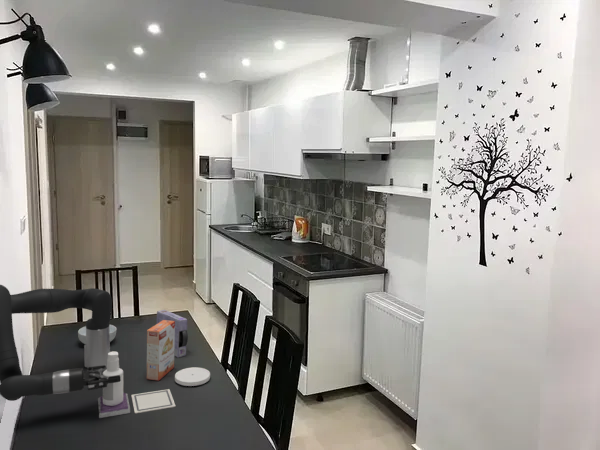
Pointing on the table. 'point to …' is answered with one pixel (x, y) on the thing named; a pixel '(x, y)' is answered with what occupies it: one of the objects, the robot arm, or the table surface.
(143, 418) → the table surface
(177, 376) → the plastic lid
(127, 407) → the ink pad
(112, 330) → the cereal bowl
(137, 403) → the marked sheet
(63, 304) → the robot arm
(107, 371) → the spray bottle
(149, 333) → the cracker box
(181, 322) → the cake pan box
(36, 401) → the table surface
